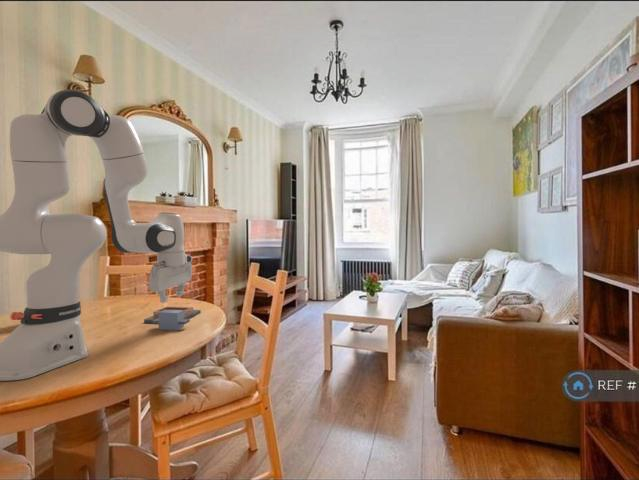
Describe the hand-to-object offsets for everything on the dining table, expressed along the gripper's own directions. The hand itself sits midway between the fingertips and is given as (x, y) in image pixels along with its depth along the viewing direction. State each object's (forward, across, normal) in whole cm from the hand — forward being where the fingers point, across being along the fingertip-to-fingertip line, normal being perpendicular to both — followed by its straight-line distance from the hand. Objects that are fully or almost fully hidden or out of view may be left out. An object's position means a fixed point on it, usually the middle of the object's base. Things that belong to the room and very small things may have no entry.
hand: (172, 298), depth 118 cm
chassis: (+11, +12, +7) cm, 18 cm away
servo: (+10, -1, 0) cm, 10 cm away
